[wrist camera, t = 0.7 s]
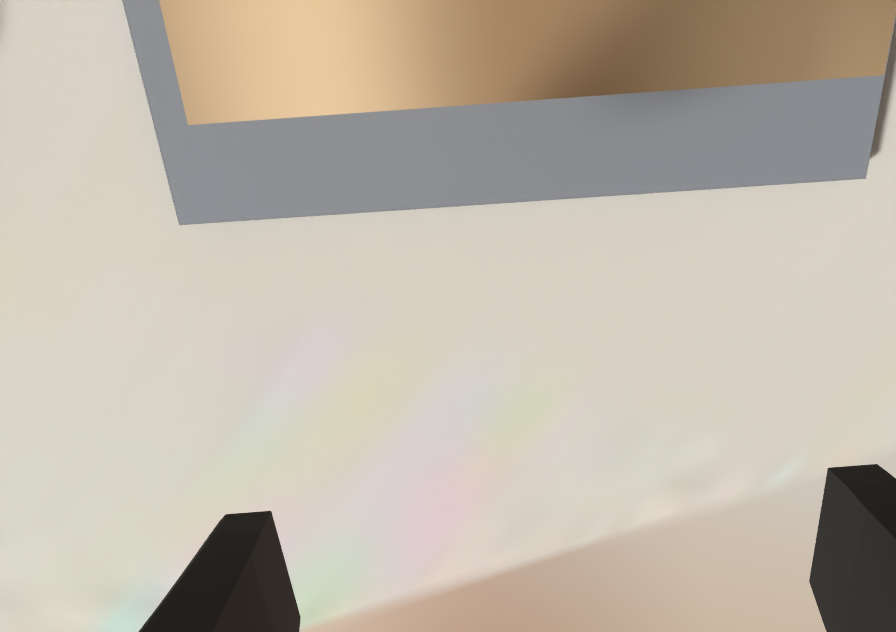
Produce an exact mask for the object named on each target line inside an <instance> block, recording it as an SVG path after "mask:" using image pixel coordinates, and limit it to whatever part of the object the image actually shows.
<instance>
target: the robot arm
mask: <svg viewBox="0 0 896 632" xmlns="http://www.w3.org/2000/svg"><path fill="white" fill-rule="evenodd" d="M809 581H810V585H811V588H812V591H813V594H814V596H815V599H816V602H817V605H818V608H819V611H820V614H821V617H822V620H823V623H824V625H825V628H826V631H827V632H896V478H894V477H893V476H892V475H890V474H889V473H888V472H887V471H885V470H884V469H882V468H881V467H880V466H879V465H877V464H873V465H860V466H847V467H834V468H828V471H827V477H826V483H825V489H824V495H823V501H822V507H821V514H820V519H819V526H818V532H817V538H816V544H815V550H814V556H813V562H812V568H811V574H810V580H809ZM299 627H300V614H299V611H298V607H297V603H296V600H295V596H294V592H293V589H292V585H291V581H290V578H289V574H288V571H287V567H286V563H285V560H284V556H283V552H282V549H281V545H280V541H279V538H278V534H277V531H276V527H275V523H274V520H273V516H272V512H271V511H264V512H252V513H239V514H226V515H225V516H224V517H223V518H222V519H221V520H220V521H219V523H218V524H217V526H216V527H215V528H214V530H213V531H212V533H211V534H210V535H209V537H208V538H207V540H206V541H205V542H204V544H203V545H202V547H201V548H200V549H199V551H198V552H197V554H196V555H195V556H194V558H193V559H192V561H191V562H190V563H189V565H188V566H187V568H186V569H185V570H184V572H183V573H182V575H181V576H180V577H179V579H178V580H177V581H176V583H175V584H174V585H173V587H172V588H171V590H170V591H169V592H168V594H167V595H166V596H165V598H164V599H163V600H162V602H161V603H160V604H159V606H158V607H157V608H156V610H155V611H154V612H153V614H152V615H151V616H150V618H149V619H148V620H147V621H146V623H145V624H144V625H143V627H142V628H141V629H140V631H139V632H299Z"/></svg>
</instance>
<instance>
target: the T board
mask: <svg viewBox="0 0 896 632" xmlns="http://www.w3.org/2000/svg"><path fill="white" fill-rule="evenodd" d="M122 1H123V5H124V9H125V13H126V17H127V21H128V25H129V29H130V33H131V37H132V41H133V45H134V49H135V53H136V57H137V60H138V64H139V68H140V72H141V76H142V80H143V84H144V88H145V92H146V96H147V100H148V104H149V108H150V112H151V116H152V120H153V124H154V128H155V131H156V135H157V139H158V143H159V147H160V151H161V155H162V159H163V163H164V167H165V171H166V175H167V179H168V183H169V187H170V191H171V195H172V198H173V202H174V206H175V210H176V214H177V218H178V222H179V225H188V224H202V223H217V222H232V221H247V220H261V219H276V218H291V217H306V216H320V215H335V214H350V213H365V212H380V211H394V210H409V209H424V208H439V207H453V206H468V205H483V204H498V203H513V202H527V201H542V200H557V199H572V198H586V197H601V196H616V195H631V194H646V193H660V192H675V191H690V190H705V189H719V188H734V187H749V186H764V185H779V184H793V183H808V182H823V181H838V180H852V179H866V174H867V169H868V164H869V158H870V153H871V148H872V142H873V137H874V132H875V127H876V121H877V116H878V111H879V105H880V100H881V95H882V89H883V84H884V79H885V74H884V75H879V76H865V77H851V78H837V79H823V80H810V81H796V82H782V83H768V84H754V85H740V86H726V87H712V88H698V89H684V90H670V91H656V92H642V93H628V94H614V95H601V96H587V97H573V98H559V99H545V100H531V101H517V102H503V103H489V104H475V105H461V106H447V107H433V108H419V109H406V110H392V111H378V112H364V113H350V114H336V115H322V116H308V117H294V118H280V119H266V120H252V121H238V122H224V123H210V124H197V125H188V122H187V118H186V114H185V110H184V105H183V101H182V97H181V92H180V88H179V84H178V79H177V75H176V71H175V67H174V62H173V58H172V54H171V49H170V45H169V41H168V36H167V32H166V28H165V24H164V19H163V15H162V11H161V6H160V2H159V0H122ZM895 20H896V15H895ZM895 20H894V26H895ZM894 26H893V31H894ZM893 31H892V36H893ZM892 36H891V41H892ZM890 47H891V42H890ZM890 47H889V52H890ZM889 52H888V57H889ZM887 63H888V58H887ZM887 63H886V68H887ZM886 68H885V73H886Z"/></svg>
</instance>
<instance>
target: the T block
mask: <svg viewBox="0 0 896 632" xmlns="http://www.w3.org/2000/svg"><path fill="white" fill-rule="evenodd" d="M159 2H160V6H161V11H162V15H163V19H164V24H165V28H166V32H167V36H168V41H169V45H170V49H171V54H172V58H173V62H174V67H175V71H176V75H177V79H178V84H179V88H180V92H181V97H182V101H183V105H184V110H185V114H186V118H187V122H188V125H197V124H210V123H224V122H238V121H252V120H266V119H280V118H294V117H308V116H322V115H336V114H350V113H364V112H378V111H392V110H406V109H419V108H433V107H447V106H461V105H475V104H489V103H503V102H517V101H531V100H545V99H559V98H573V97H587V96H601V95H614V94H628V93H642V92H656V91H670V90H684V89H698V88H712V87H726V86H740V85H754V84H768V83H782V82H796V81H810V80H823V79H837V78H851V77H865V76H879V75H884V74H885V68H886V63H887V58H888V52H889V47H890V42H891V36H892V31H893V26H894V20H895V15H896V0H159Z"/></svg>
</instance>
